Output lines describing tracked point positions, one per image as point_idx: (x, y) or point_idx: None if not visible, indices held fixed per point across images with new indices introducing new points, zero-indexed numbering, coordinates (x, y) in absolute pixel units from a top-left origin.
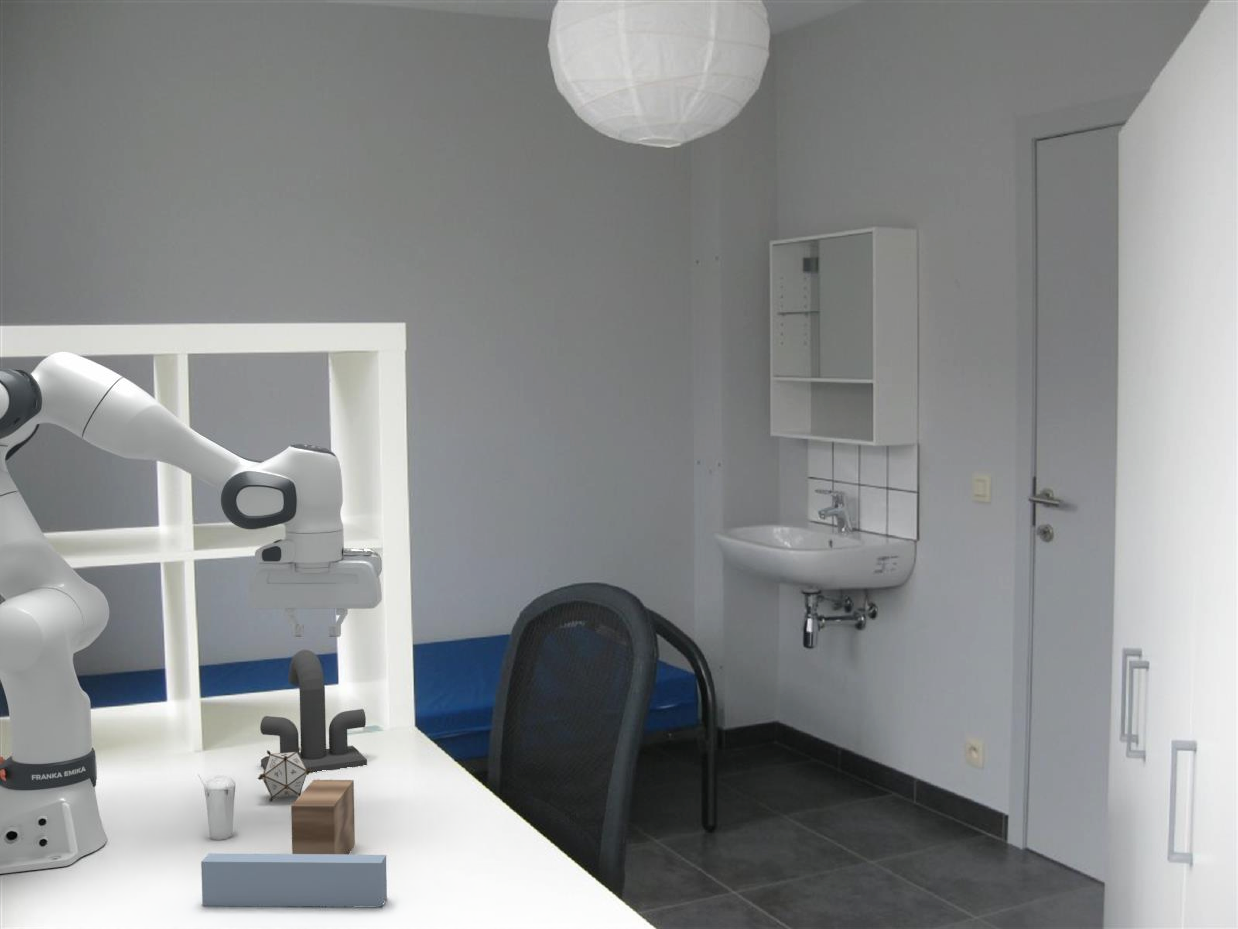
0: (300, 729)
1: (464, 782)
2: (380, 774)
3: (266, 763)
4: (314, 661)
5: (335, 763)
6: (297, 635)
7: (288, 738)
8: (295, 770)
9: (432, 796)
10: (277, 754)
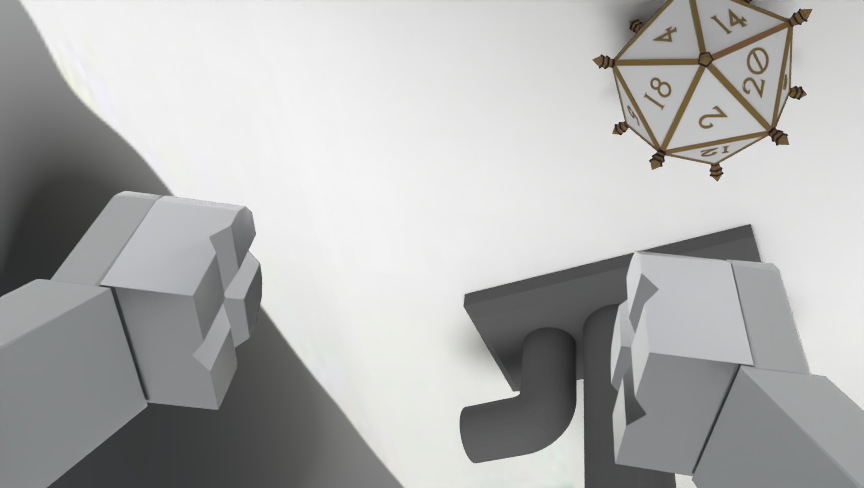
0: None
1: (145, 135)
2: (411, 224)
3: None
4: None
5: (550, 286)
6: (700, 260)
7: None
8: (658, 44)
9: (196, 17)
10: (741, 127)
